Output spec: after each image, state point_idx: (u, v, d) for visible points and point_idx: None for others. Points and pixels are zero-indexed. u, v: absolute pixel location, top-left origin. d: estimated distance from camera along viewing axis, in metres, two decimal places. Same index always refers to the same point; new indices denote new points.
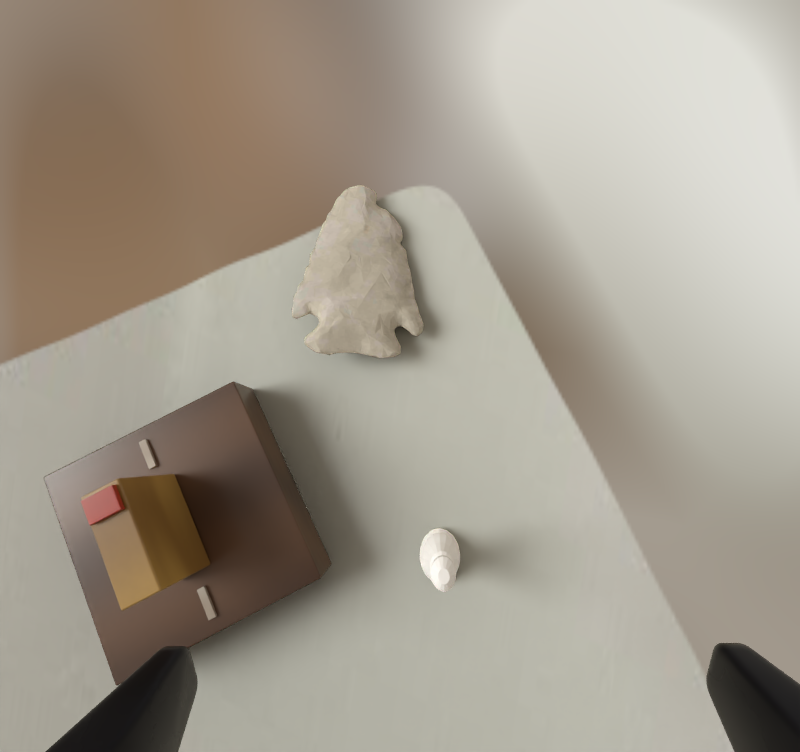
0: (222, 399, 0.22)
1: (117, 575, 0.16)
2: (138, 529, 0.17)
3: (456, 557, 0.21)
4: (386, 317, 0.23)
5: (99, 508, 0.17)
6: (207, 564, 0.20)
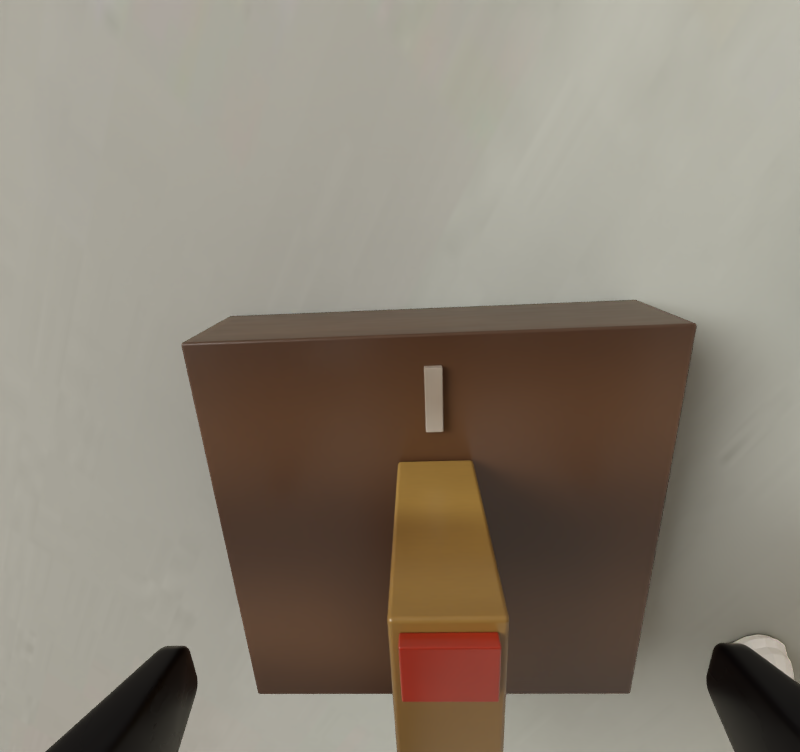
0: (649, 354, 0.09)
1: None
2: (503, 726, 0.07)
3: None
4: None
5: (444, 681, 0.06)
6: None
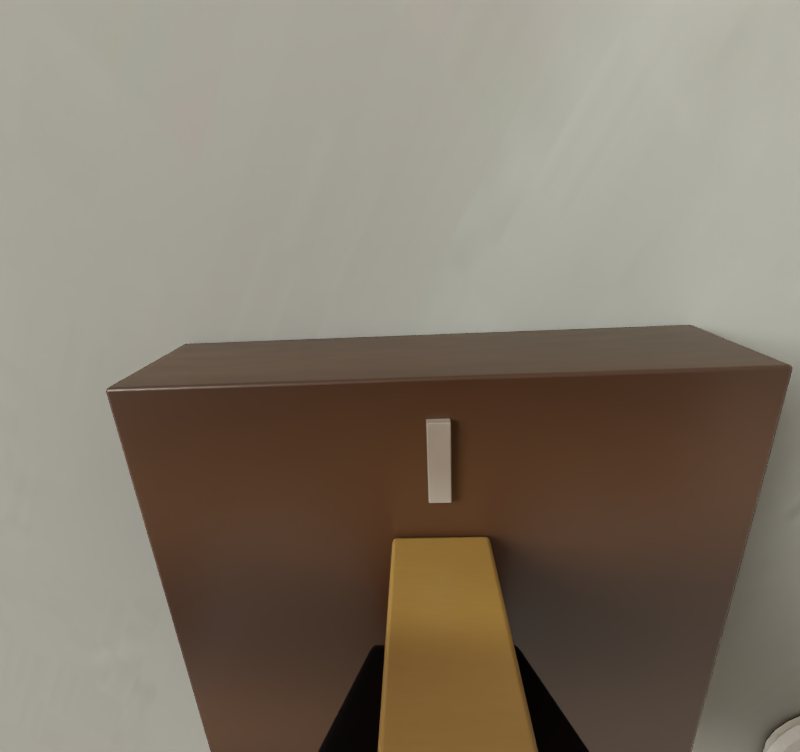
0: (726, 405, 0.07)
1: None
2: None
3: None
4: None
5: None
6: None
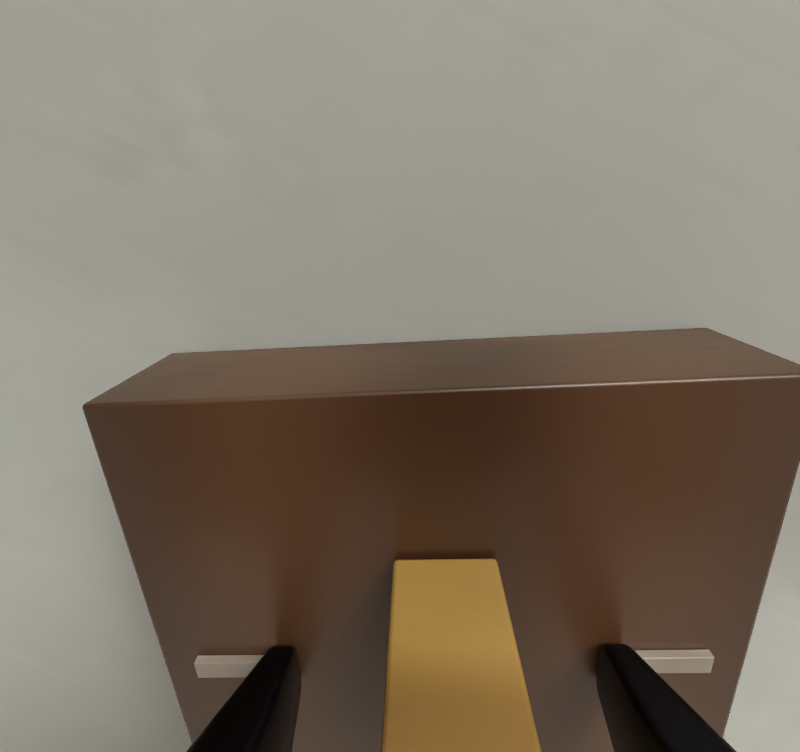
0: None
1: None
2: None
3: None
4: None
5: None
6: None
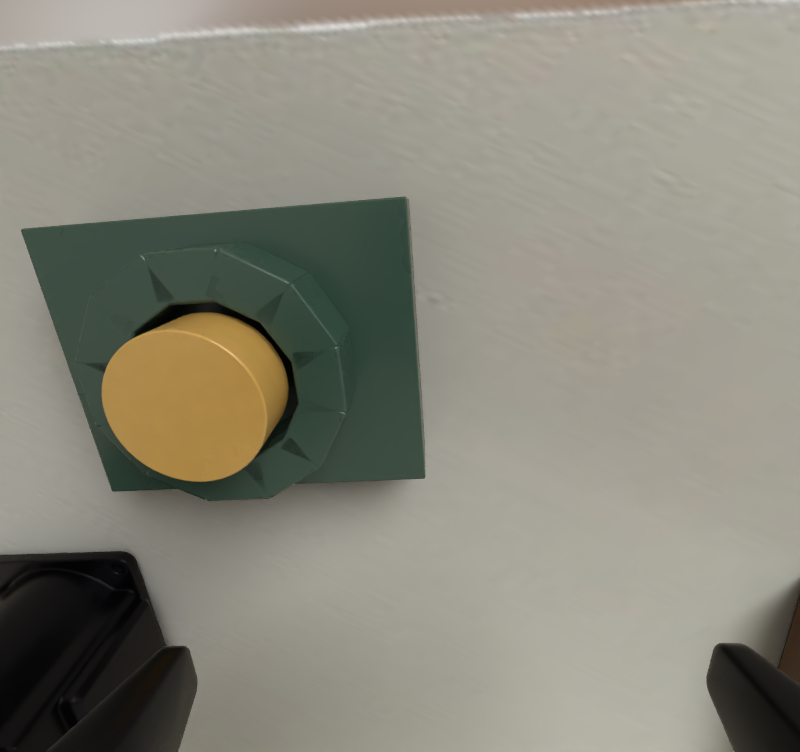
0: None
1: None
2: None
3: None
4: None
5: None
6: None
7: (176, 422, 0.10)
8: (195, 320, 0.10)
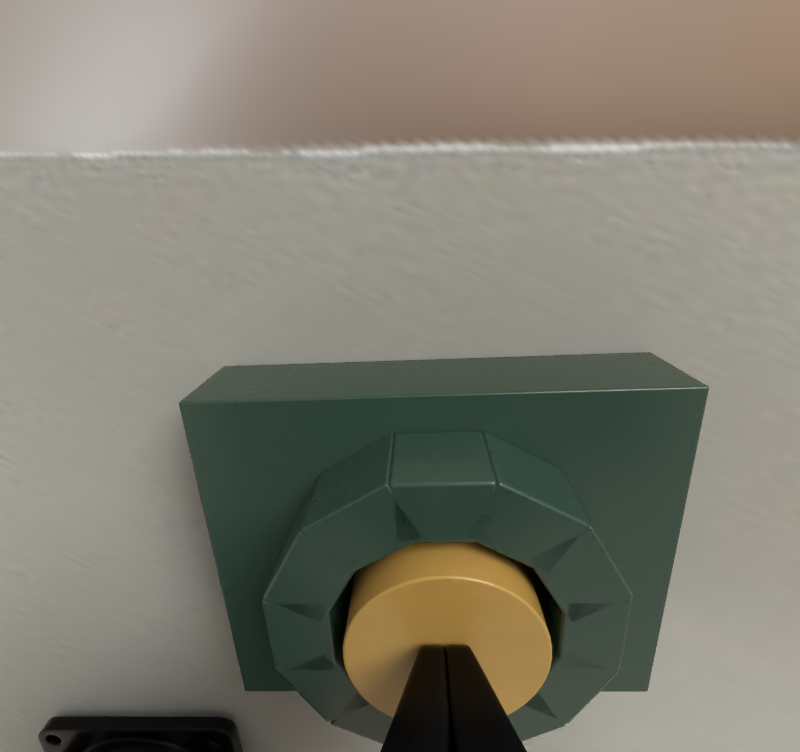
0: None
1: None
2: None
3: None
4: None
5: None
6: None
7: None
8: None
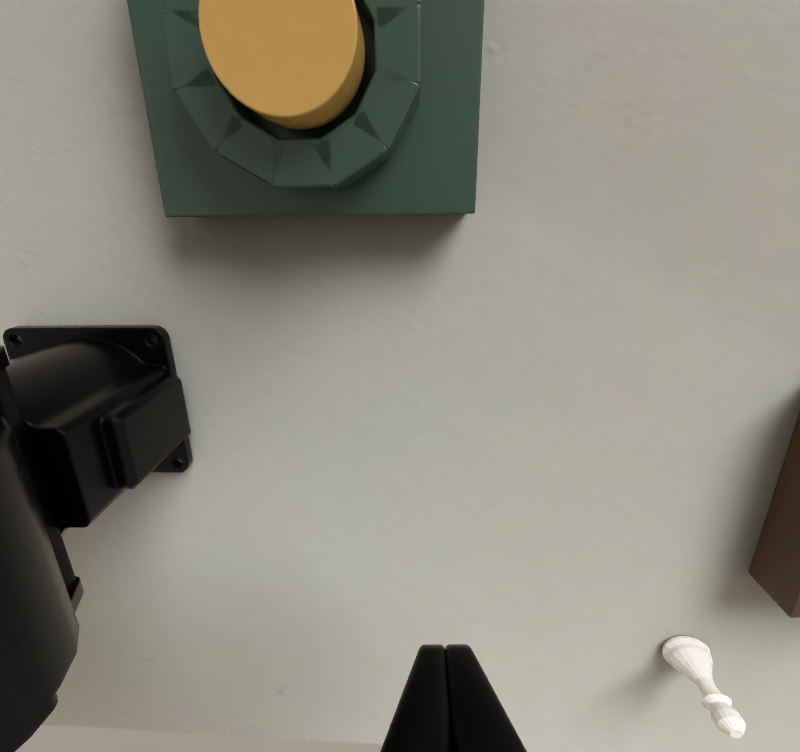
0: None
1: None
2: None
3: (684, 674, 0.23)
4: None
5: None
6: None
7: (268, 40, 0.10)
8: None
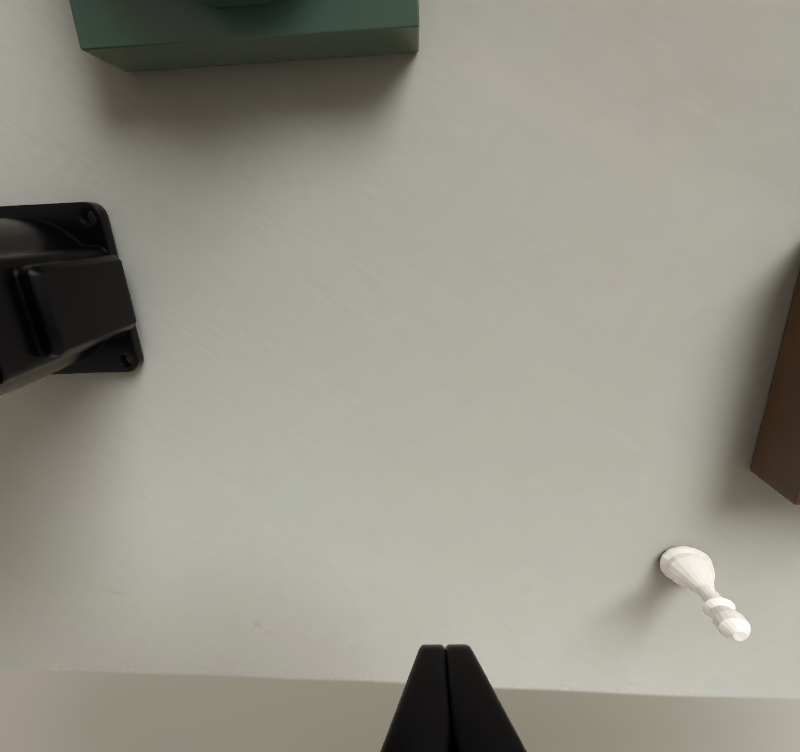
0: None
1: None
2: None
3: (684, 587, 0.21)
4: None
5: None
6: None
7: None
8: None
